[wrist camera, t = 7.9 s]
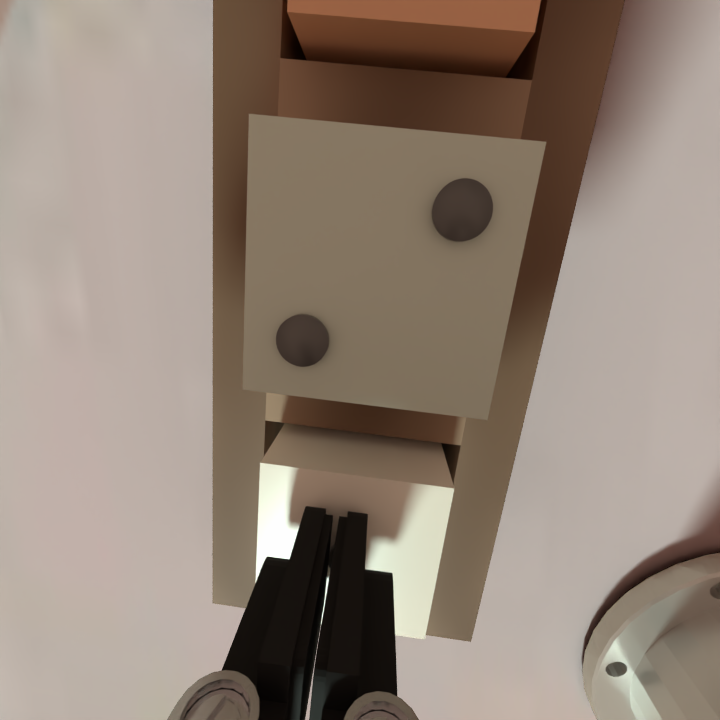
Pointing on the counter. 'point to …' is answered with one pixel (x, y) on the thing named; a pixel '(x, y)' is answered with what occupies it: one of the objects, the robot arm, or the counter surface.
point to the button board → (533, 288)
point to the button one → (362, 505)
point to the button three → (416, 33)
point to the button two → (382, 261)
